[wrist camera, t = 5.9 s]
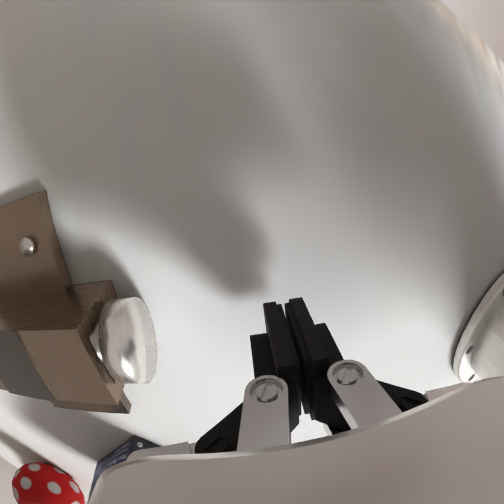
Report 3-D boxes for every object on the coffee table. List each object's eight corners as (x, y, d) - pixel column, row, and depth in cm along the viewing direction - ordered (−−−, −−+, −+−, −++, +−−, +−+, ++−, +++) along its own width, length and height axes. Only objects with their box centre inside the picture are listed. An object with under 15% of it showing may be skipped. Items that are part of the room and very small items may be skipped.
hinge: (84, 177, 11) (29, 194, 7) (163, 405, 16) (156, 458, 12) (-42, 226, 10) (-83, 249, 6) (38, 396, 16) (19, 433, 12)
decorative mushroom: (42, 520, 17) (51, 550, 9) (3, 465, 19) (-7, 479, 11) (87, 498, 26) (110, 520, 18) (50, 447, 28) (57, 453, 21)
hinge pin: (139, 281, 13) (113, 330, 9) (161, 346, 14) (148, 401, 11) (-18, 300, 12) (-49, 330, 8) (5, 347, 14) (-20, 380, 10)
